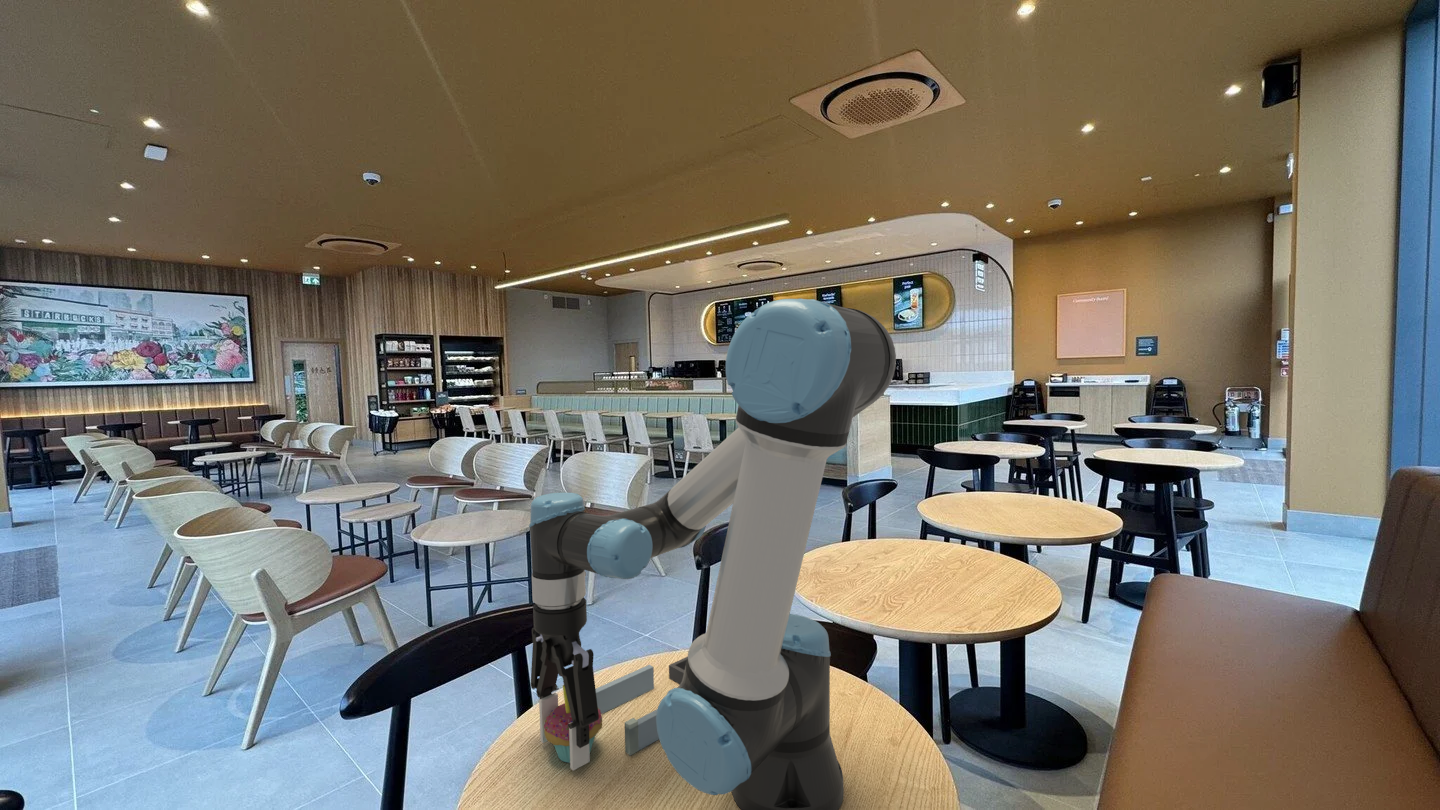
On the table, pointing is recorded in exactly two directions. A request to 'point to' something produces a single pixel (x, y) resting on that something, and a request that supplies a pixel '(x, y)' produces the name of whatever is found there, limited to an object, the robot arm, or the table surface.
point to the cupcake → (565, 729)
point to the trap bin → (677, 670)
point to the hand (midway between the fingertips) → (564, 750)
